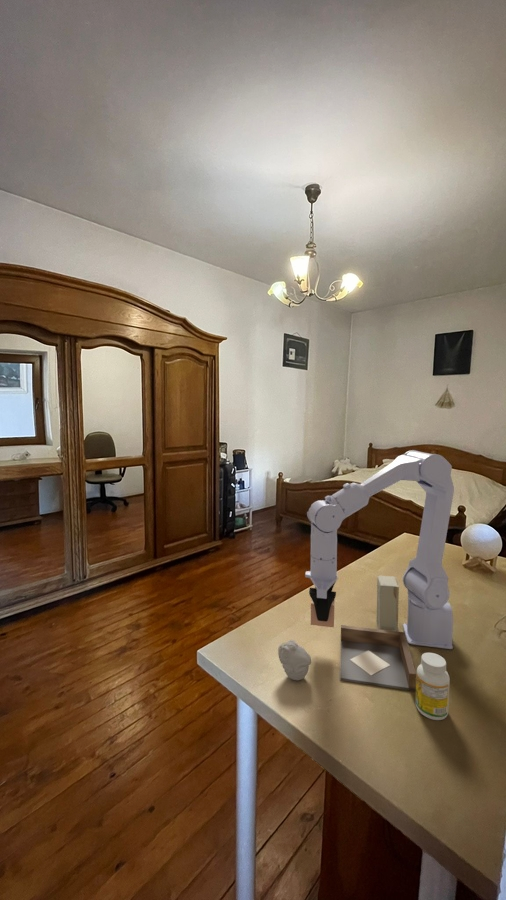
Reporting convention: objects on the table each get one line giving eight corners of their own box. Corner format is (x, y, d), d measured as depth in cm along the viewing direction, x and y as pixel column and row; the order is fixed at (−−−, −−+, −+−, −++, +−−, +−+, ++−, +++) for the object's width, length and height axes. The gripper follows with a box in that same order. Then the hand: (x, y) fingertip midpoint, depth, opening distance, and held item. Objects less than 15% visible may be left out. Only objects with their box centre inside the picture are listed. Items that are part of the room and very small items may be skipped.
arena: (404, 646, 86) (404, 632, 86) (415, 691, 73) (416, 674, 72) (340, 638, 90) (341, 624, 89) (340, 680, 76) (340, 663, 76)
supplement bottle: (443, 726, 65) (446, 674, 64) (411, 710, 68) (413, 660, 67) (451, 707, 69) (453, 658, 68) (420, 693, 72) (422, 646, 71)
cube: (334, 615, 88) (334, 594, 87) (333, 627, 83) (334, 605, 82) (312, 612, 89) (312, 592, 88) (310, 624, 84) (310, 603, 84)
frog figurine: (285, 662, 81) (285, 631, 81) (316, 673, 78) (317, 641, 77) (272, 679, 76) (272, 647, 76) (304, 693, 73) (305, 658, 72)
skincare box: (398, 636, 90) (399, 587, 89) (379, 634, 91) (380, 586, 90) (393, 621, 97) (395, 575, 95) (375, 620, 97) (377, 574, 96)
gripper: (308, 542, 92) (308, 596, 94) (302, 567, 78) (302, 629, 80) (338, 544, 91) (337, 599, 92) (337, 570, 77) (336, 633, 78)
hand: (323, 613), depth 86 cm, fingers closed on cube, 5 cm apart
